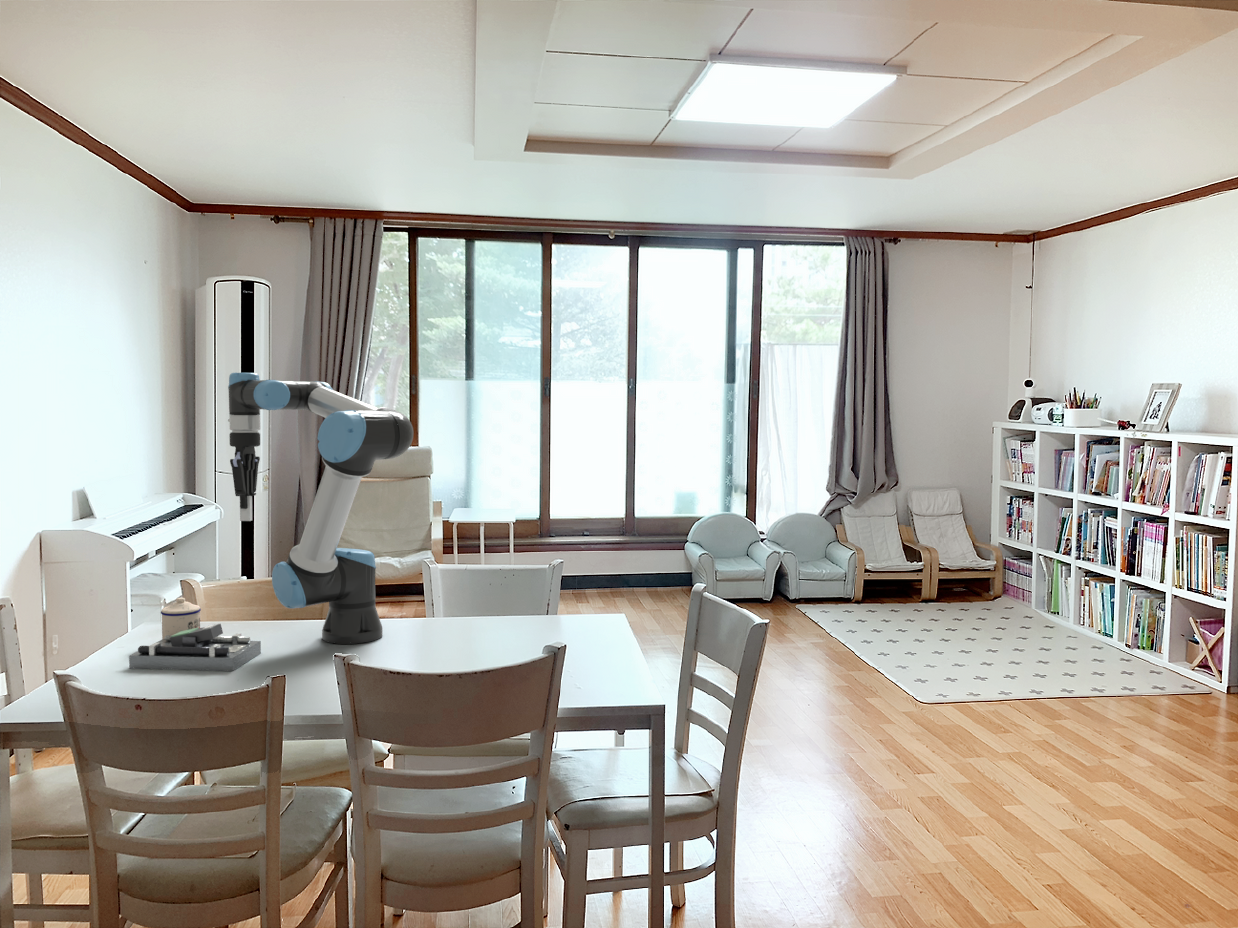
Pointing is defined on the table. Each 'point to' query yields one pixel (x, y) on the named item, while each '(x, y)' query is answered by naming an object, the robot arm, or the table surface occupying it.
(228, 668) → the panel
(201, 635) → the rocker
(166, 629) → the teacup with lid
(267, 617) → the table surface
